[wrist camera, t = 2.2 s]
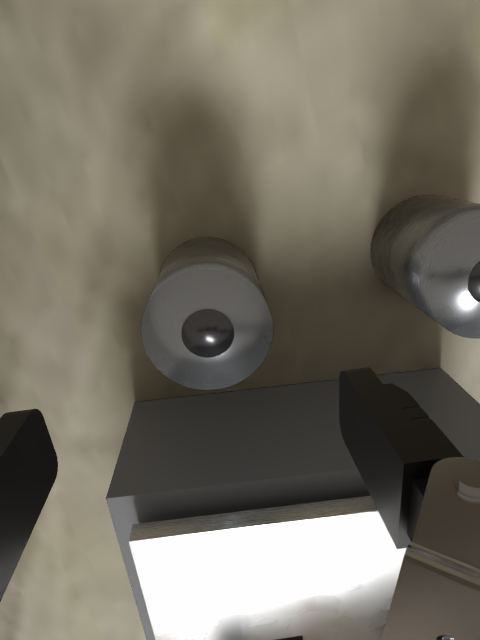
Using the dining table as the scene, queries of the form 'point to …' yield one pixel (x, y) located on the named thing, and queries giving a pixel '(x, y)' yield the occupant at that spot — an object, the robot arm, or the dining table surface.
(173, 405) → the scale
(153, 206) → the dining table surface
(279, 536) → the scale pan
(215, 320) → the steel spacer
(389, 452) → the robot arm
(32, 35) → the dining table surface
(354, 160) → the dining table surface
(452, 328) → the cylinder
